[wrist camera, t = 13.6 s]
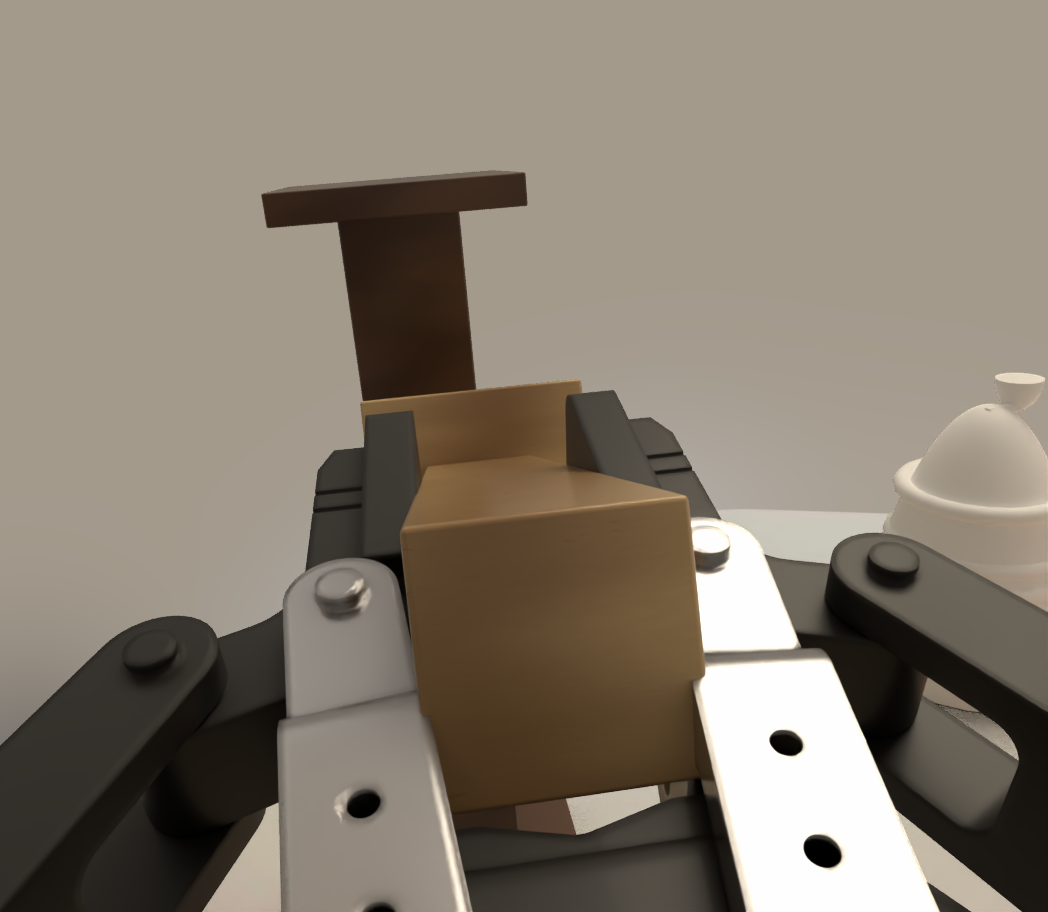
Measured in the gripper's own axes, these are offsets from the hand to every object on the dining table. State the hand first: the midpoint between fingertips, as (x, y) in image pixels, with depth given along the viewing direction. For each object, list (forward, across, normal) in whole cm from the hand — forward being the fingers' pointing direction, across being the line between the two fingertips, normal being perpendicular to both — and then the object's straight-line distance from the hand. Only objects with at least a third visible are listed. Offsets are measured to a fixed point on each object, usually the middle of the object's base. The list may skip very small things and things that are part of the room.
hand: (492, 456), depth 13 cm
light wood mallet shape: (+1, 0, +4) cm, 4 cm away
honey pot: (+25, -31, +35) cm, 53 cm away
